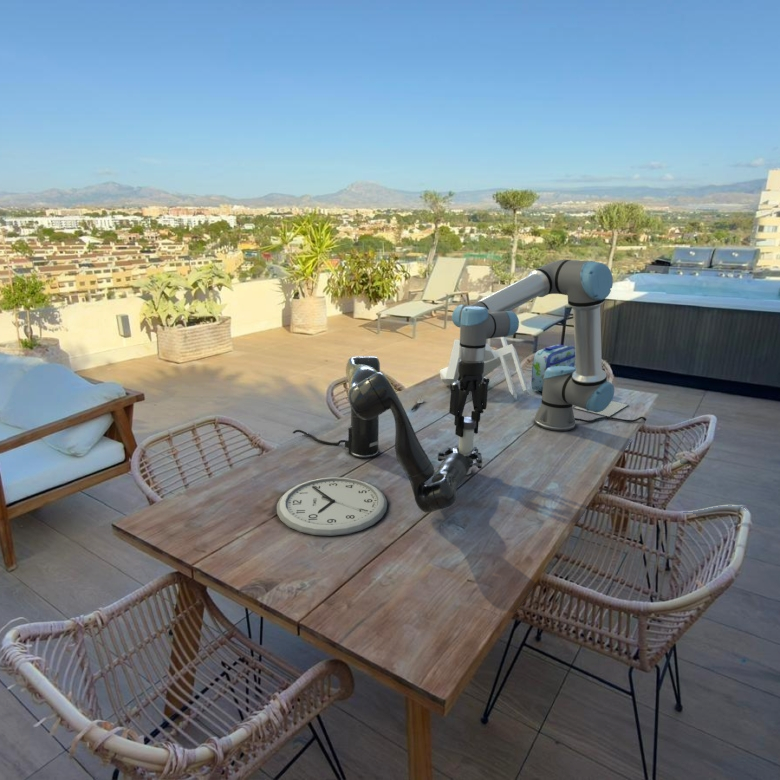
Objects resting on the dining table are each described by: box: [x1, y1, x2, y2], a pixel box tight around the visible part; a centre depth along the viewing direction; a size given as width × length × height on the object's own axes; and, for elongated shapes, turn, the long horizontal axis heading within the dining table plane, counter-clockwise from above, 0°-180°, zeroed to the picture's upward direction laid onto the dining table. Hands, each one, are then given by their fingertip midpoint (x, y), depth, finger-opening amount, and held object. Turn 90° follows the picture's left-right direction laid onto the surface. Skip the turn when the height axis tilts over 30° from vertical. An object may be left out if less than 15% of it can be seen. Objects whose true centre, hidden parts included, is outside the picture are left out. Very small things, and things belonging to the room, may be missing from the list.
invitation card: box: [573, 400, 629, 417], centre depth 226 cm, size 21×1×15 cm
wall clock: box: [276, 476, 388, 537], centre depth 142 cm, size 30×2×30 cm
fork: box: [410, 395, 426, 411], centre depth 223 cm, size 3×16×2 cm, turn 160°
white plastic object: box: [438, 337, 531, 400], centre depth 245 cm, size 37×45×31 cm
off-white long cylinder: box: [458, 429, 475, 476], centre depth 162 cm, size 4×4×16 cm
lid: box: [463, 416, 476, 430], centre depth 159 cm, size 5×5×2 cm
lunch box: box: [530, 344, 576, 392], centre depth 247 cm, size 26×11×21 cm, turn 134°
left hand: (467, 448), depth 164 cm, fingers closed on off-white long cylinder, 4 cm apart
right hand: (466, 433), depth 160 cm, fingers closed on lid, 5 cm apart
